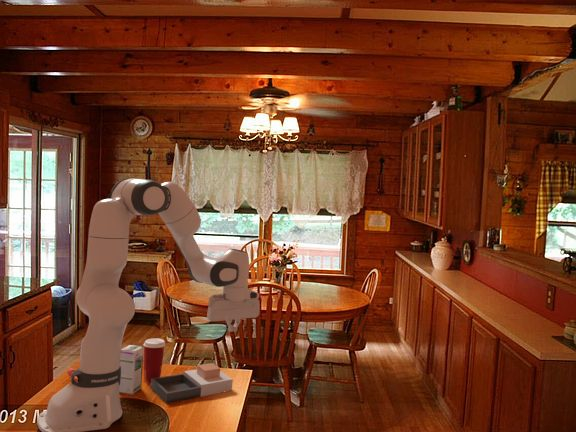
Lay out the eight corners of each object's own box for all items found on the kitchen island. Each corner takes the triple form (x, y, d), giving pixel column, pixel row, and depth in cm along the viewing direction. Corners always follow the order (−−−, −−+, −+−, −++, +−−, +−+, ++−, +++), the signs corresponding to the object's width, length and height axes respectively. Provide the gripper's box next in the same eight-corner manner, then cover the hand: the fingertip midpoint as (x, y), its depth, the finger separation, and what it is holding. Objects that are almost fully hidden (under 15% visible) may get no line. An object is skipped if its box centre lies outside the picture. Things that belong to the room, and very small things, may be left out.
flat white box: (200, 396, 156) (201, 384, 156) (183, 382, 168) (184, 371, 168) (231, 390, 164) (232, 379, 163) (213, 377, 175) (214, 366, 175)
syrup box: (132, 394, 154) (135, 351, 154) (116, 392, 155) (119, 348, 155) (141, 388, 159) (144, 346, 159) (125, 385, 161) (128, 344, 160)
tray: (166, 403, 149) (166, 393, 149) (150, 387, 161) (151, 378, 160) (200, 396, 156) (201, 387, 156) (183, 382, 168) (184, 373, 168)
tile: (204, 379, 161) (204, 370, 161) (196, 373, 166) (197, 365, 166) (219, 376, 165) (220, 368, 165) (211, 371, 170) (212, 363, 170)
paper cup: (167, 379, 169) (170, 341, 169) (151, 385, 163) (153, 345, 162) (152, 373, 173) (155, 336, 173) (135, 379, 167) (138, 340, 167)
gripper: (213, 296, 161) (210, 336, 162) (263, 293, 173) (260, 330, 174) (205, 293, 166) (202, 331, 167) (254, 290, 179) (251, 326, 179)
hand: (232, 331), depth 170 cm, fingers closed
